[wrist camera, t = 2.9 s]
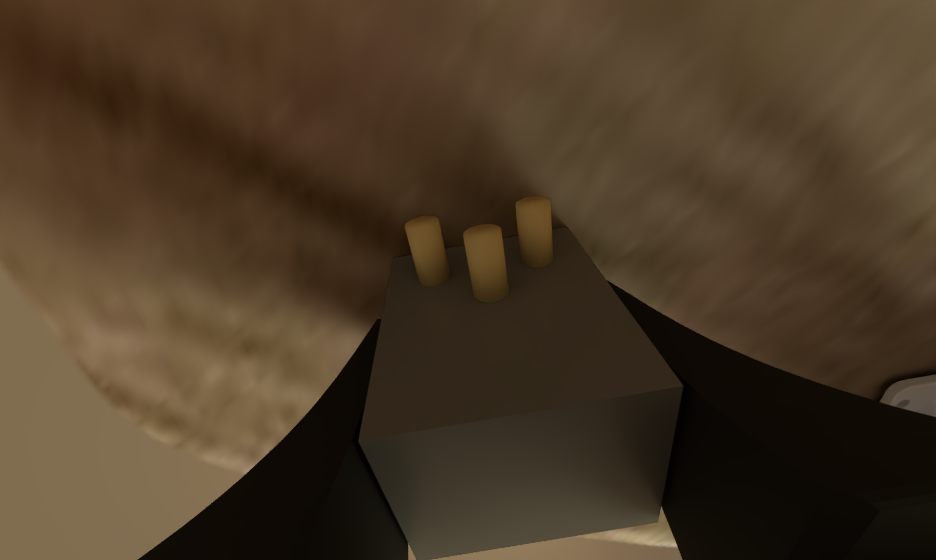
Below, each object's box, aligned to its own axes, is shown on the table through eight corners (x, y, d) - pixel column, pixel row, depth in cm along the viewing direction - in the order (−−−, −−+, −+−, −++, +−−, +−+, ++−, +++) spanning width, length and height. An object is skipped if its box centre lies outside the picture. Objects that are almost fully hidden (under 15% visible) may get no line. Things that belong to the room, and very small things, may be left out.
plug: (570, 335, 13) (657, 522, 8) (423, 360, 13) (417, 562, 8) (565, 174, 10) (699, 305, 5) (378, 208, 10) (324, 370, 5)
